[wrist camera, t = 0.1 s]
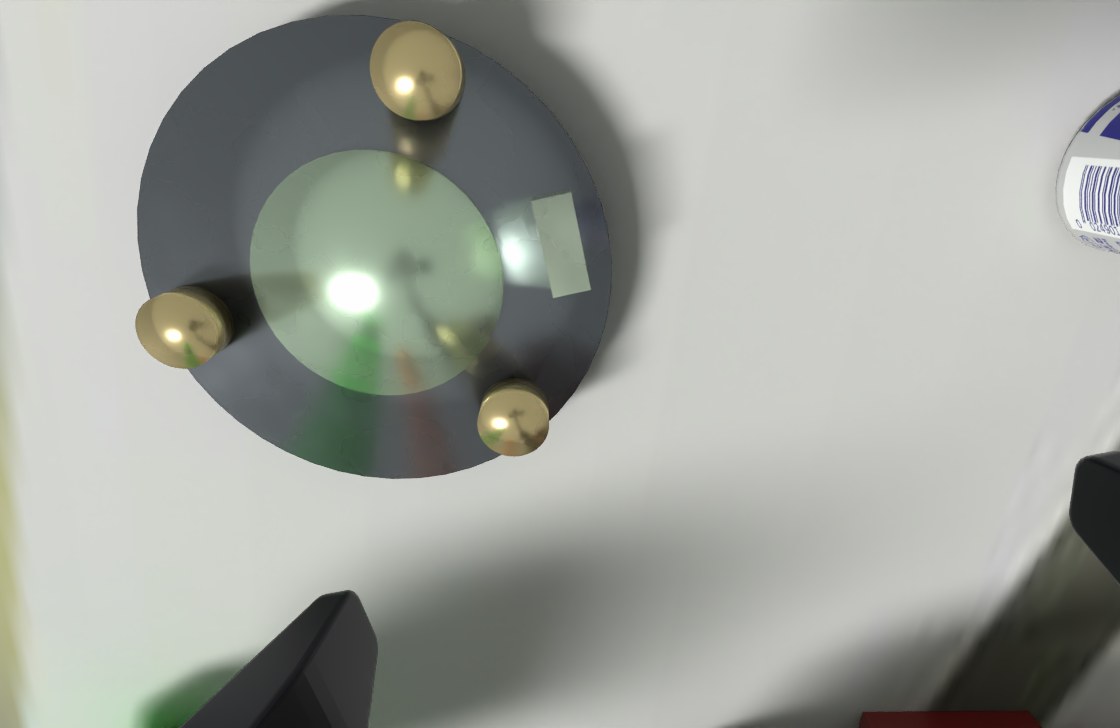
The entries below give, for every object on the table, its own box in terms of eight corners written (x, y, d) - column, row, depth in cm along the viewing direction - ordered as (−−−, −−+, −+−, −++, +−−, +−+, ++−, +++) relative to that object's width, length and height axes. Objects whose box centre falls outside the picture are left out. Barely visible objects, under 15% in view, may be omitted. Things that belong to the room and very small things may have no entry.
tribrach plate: (639, 415, 23) (650, 451, 21) (270, 489, 24) (238, 532, 22) (556, -32, 18) (557, -57, 15) (79, 87, 18) (6, 82, 16)
